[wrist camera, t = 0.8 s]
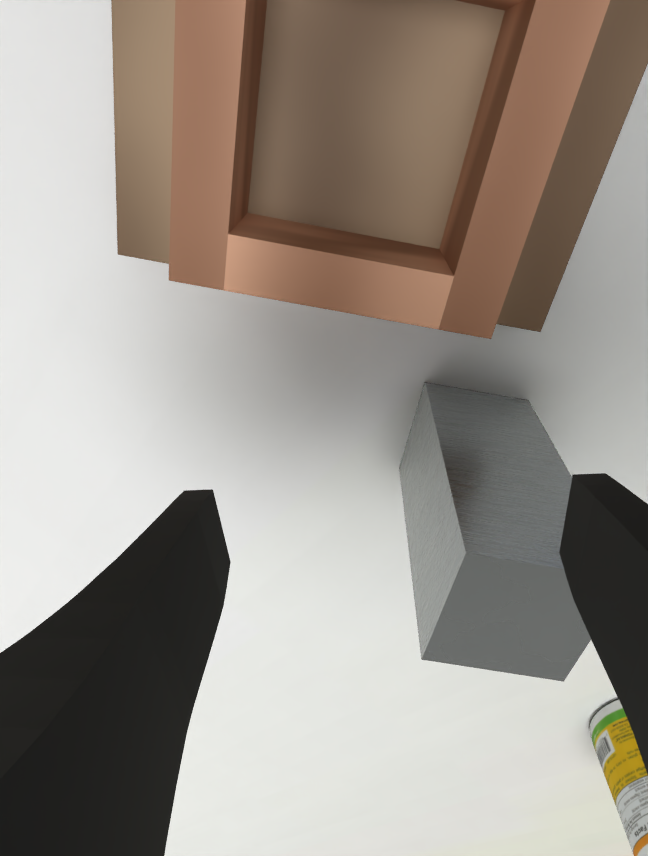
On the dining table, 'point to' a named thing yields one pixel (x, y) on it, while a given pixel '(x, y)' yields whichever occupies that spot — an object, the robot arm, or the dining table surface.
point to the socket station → (371, 147)
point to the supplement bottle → (623, 772)
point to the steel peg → (488, 536)
